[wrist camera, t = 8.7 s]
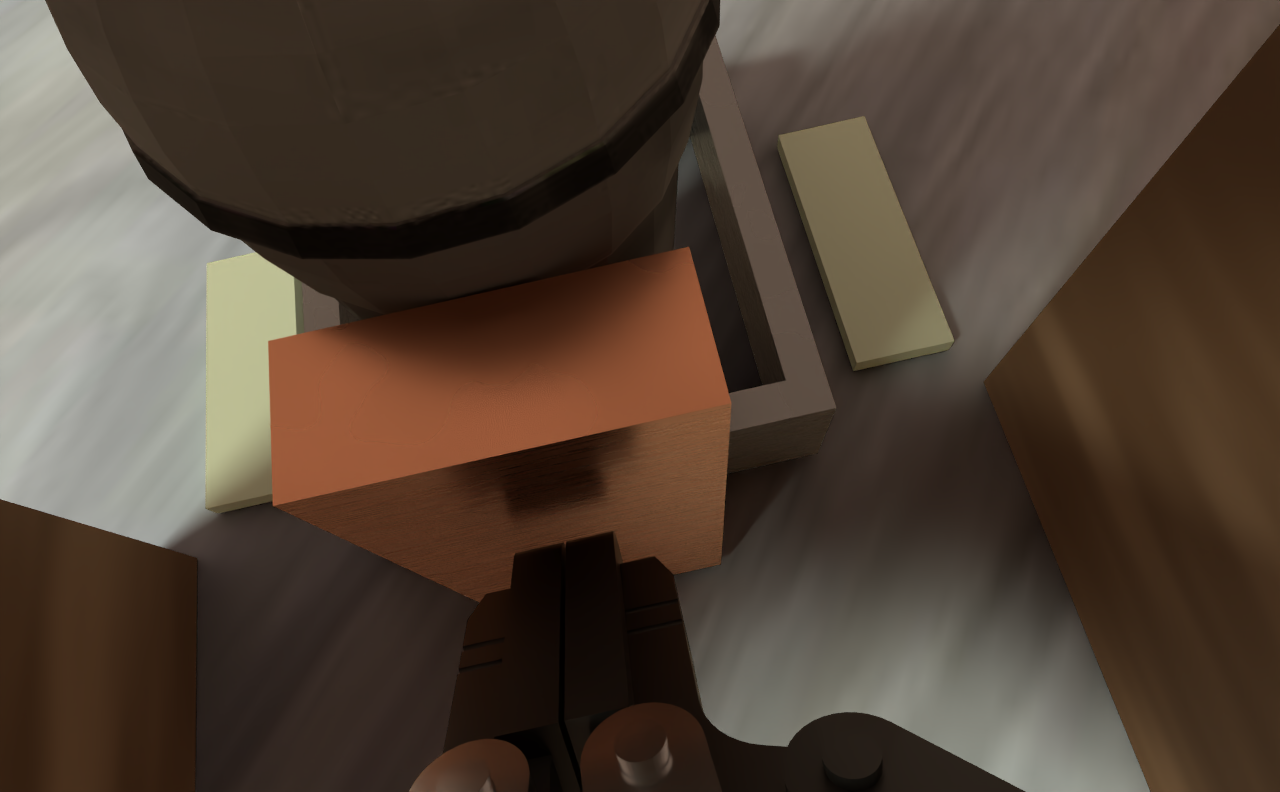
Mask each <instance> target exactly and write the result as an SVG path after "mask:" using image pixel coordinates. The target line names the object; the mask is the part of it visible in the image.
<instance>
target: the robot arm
mask: <svg viewBox="0 0 1280 792" xmlns="http://www.w3.org/2000/svg"><path fill="white" fill-rule="evenodd" d="M463 650H464V651H463V652H462V653H461V659H460V664H459V674H458V675H457V680H456V686H455V691H454V697H453V702H452V707H451V713H450V718H449V724H448V729H447V734H446V740H445V745H444V751H443V754H442V755H441V756H439V757H438V758H437V759H435V760H434V761H433V762H432V763H431V764H429V765H428V766H427V767H426V768H425V770H424V771H423V772H422V773H421V774H420V775H419V776H418V778H417V779H416V780H415V782H414V784H413V785H412V787H411V789H410V790H409V792H1025V791H1023V790H1021V789H1019V788H1017V787H1015V786H1013V785H1011V784H1010V783H1008V782H1006V781H1004V780H1002V779H1000V778H998V777H996V776H994V775H992V774H990V773H988V772H986V771H984V770H982V769H981V768H979V767H977V766H975V765H973V764H971V763H969V762H967V761H965V760H963V759H961V758H959V757H957V756H955V755H953V754H952V753H950V752H948V751H946V750H944V749H942V748H940V747H938V746H936V745H934V744H932V743H930V742H928V741H926V740H925V739H923V738H921V737H919V736H917V735H915V734H913V733H911V732H909V731H907V730H905V729H903V728H901V727H899V726H897V725H896V724H894V723H892V722H890V721H887V720H885V719H883V718H880V717H877V716H873V715H870V714H864V713H857V712H844V713H836V714H831V715H827V716H824V717H821V718H819V719H817V720H814V721H812V722H811V723H809V724H807V725H806V726H804V727H803V728H802V729H801V730H800V731H799V732H798V733H796V735H795V736H794V737H793V739H792V740H791V741H790V743H789V745H788V747H782V746H766V745H757V744H750V743H746V742H742V741H739V740H736V739H734V738H732V737H729V736H727V735H726V734H724V733H722V732H721V731H719V730H718V729H717V728H716V727H715V726H713V725H712V724H711V722H710V721H709V720H708V719H707V718H706V716H705V714H704V713H703V708H702V703H701V698H700V694H699V689H698V684H697V679H696V674H695V670H694V665H693V660H692V655H691V651H690V646H689V642H688V638H687V633H686V629H685V625H684V620H683V616H682V611H681V607H680V603H679V598H678V594H677V590H676V585H675V581H674V576H673V574H672V573H671V572H670V571H669V570H668V569H667V568H666V567H665V566H664V565H663V564H662V563H661V562H660V561H659V560H658V559H657V558H656V557H655V556H653V557H648V558H644V559H639V560H635V561H630V562H626V563H623V560H622V556H621V552H620V548H619V544H618V541H617V537H616V534H615V532H614V531H610V532H605V533H601V534H596V535H592V536H587V537H583V538H578V539H574V540H569V541H567V542H566V545H565V544H564V542H561V543H557V544H552V545H548V546H543V547H539V548H534V549H530V550H525V551H521V552H516V553H515V555H514V560H513V569H512V577H511V586H510V589H506V590H501V591H497V592H492V593H488V594H485V596H484V597H483V599H482V600H481V602H480V603H479V604H478V606H477V607H476V609H475V610H474V612H473V613H472V614H471V616H470V617H469V619H468V621H467V627H466V632H465V637H464V643H463Z"/></svg>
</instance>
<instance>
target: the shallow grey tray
mask: <svg viewBox="0 0 1280 792" xmlns="http://www.w3.org/2000/svg"><path fill="white" fill-rule="evenodd" d="M690 138H691V142H692V145H693V148H694V152H695V155H696V159H697V162H698V166H699V169H700V173H701V176H702V180H703V183H704V186H705V190H706V193H707V197H708V200H709V204H710V207H711V211H712V214H713V218H714V221H715V224H716V228H717V231H718V235H719V238H720V242H721V245H722V249H723V252H724V256H725V259H726V262H727V266H728V269H729V273H730V276H731V280H732V283H733V287H734V290H735V293H736V297H737V300H738V304H739V307H740V311H741V314H742V318H743V321H744V325H745V328H746V331H747V335H748V338H749V342H750V345H751V349H752V352H753V356H754V359H755V363H756V366H757V369H758V373H759V376H760V380H761V383H762V386H759V387H754V388H750V389H745V390H741V391H737V392H732V393H729V392H728V389H727V385H726V381H725V377H724V374H723V370H722V366H721V363H720V359H719V355H718V352H717V348H716V344H715V341H714V337H713V333H712V329H711V326H710V322H709V318H708V315H707V311H706V307H705V304H704V300H703V296H702V293H701V289H700V285H699V281H698V278H697V274H696V270H695V267H694V263H693V259H692V256H691V252H690V248H689V247H685V248H681V249H676V250H672V251H667V252H663V253H658V254H654V255H649V256H645V257H640V258H636V259H632V260H627V261H623V262H618V263H614V264H609V265H605V266H600V267H596V268H591V269H587V270H582V271H578V272H574V273H569V274H565V275H560V276H556V277H551V278H547V279H542V280H538V281H533V282H529V283H524V284H520V285H516V286H511V287H507V288H502V289H498V290H493V291H489V292H484V293H480V294H475V295H471V296H466V297H462V298H458V299H453V300H449V301H444V302H440V303H435V304H431V305H426V306H422V307H417V308H413V309H408V310H404V311H400V312H395V313H391V314H386V315H382V316H377V317H373V318H368V319H364V320H359V319H358V318H356V317H355V316H354V315H353V314H352V313H351V312H350V311H348V310H347V309H346V308H345V307H344V306H343V305H342V304H340V303H339V302H338V301H337V300H336V299H335V298H333V297H330V296H326V295H323V294H320V293H319V292H317V291H315V290H314V289H312V288H311V287H309V286H307V285H306V284H304V283H303V282H302V295H303V316H304V333H301V334H297V335H292V336H288V337H283V338H279V339H275V340H270V341H268V355H269V391H270V427H271V462H272V498H273V506H274V507H276V508H278V509H280V510H282V511H285V512H287V513H289V514H291V515H293V516H295V517H297V518H300V519H302V520H304V521H306V522H308V523H310V524H312V525H315V526H317V527H319V528H321V529H323V530H325V531H327V532H330V533H332V534H334V535H336V536H338V537H340V538H342V539H345V540H347V541H349V542H351V543H353V544H355V545H357V546H360V547H362V548H364V549H366V550H368V551H370V552H372V553H375V554H377V555H379V556H381V557H383V558H385V559H387V560H390V561H392V562H394V563H396V564H398V565H400V566H402V567H405V568H407V569H409V570H411V571H413V572H415V573H417V574H420V575H422V576H424V577H426V578H428V579H430V580H432V581H435V582H437V583H439V584H441V585H443V586H445V587H447V588H450V589H452V590H454V591H456V592H458V593H460V594H462V595H465V596H467V597H469V598H471V599H473V600H475V601H477V602H481V600H482V599H483V597H484V596H485V594H488V593H492V592H497V591H501V590H506V589H510V586H511V577H512V569H513V560H514V555H515V553H516V552H521V551H525V550H530V549H534V548H539V547H543V546H548V545H552V544H557V543H561V542H564V544H565V545H566V542H567V541H569V540H574V539H578V538H583V537H587V536H592V535H596V534H601V533H605V532H610V531H614V532H615V534H616V537H617V541H618V544H619V548H620V552H621V556H622V560H623V563H626V562H630V561H635V560H639V559H644V558H648V557H653V556H655V557H656V558H657V559H658V560H659V561H660V562H661V563H662V564H663V565H664V566H665V567H666V568H667V569H668V570H669V571H670V572H671V573H672V574H673V575H675V574H680V573H684V572H689V571H693V570H697V569H702V568H706V567H711V566H715V565H720V564H721V554H722V539H723V524H724V509H725V494H726V479H727V474H728V473H733V472H737V471H742V470H746V469H751V468H755V467H759V466H764V465H768V464H773V463H777V462H782V461H786V460H791V459H795V458H800V457H804V456H809V455H813V454H818V451H819V449H820V446H821V444H822V442H823V439H824V437H825V434H826V432H827V429H828V427H829V425H830V422H831V420H832V417H833V415H834V413H835V410H836V405H835V402H834V399H833V396H832V393H831V390H830V387H829V383H828V380H827V377H826V374H825V371H824V368H823V365H822V362H821V359H820V356H819V353H818V350H817V347H816V343H815V340H814V337H813V334H812V331H811V328H810V325H809V322H808V319H807V316H806V313H805V310H804V307H803V304H802V300H801V297H800V294H799V291H798V288H797V285H796V282H795V279H794V276H793V273H792V270H791V267H790V264H789V260H788V257H787V254H786V251H785V248H784V245H783V242H782V239H781V236H780V233H779V230H778V227H777V224H776V220H775V217H774V214H773V211H772V208H771V205H770V202H769V199H768V196H767V193H766V190H765V187H764V184H763V181H762V177H761V174H760V171H759V168H758V165H757V162H756V159H755V156H754V153H753V150H752V147H751V144H750V141H749V137H748V134H747V131H746V128H745V125H744V122H743V119H742V116H741V113H740V110H739V107H738V104H737V101H736V97H735V94H734V91H733V88H732V85H731V82H730V79H729V76H728V73H727V70H726V67H725V64H724V61H723V57H722V54H721V51H720V48H719V45H718V42H717V39H716V36H715V37H714V39H713V41H712V43H711V45H710V47H709V50H708V52H707V54H706V56H705V58H704V61H703V79H702V84H701V88H700V92H699V97H698V101H697V105H696V110H695V114H694V118H693V123H692V127H691V131H690Z"/></svg>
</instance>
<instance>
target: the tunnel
mask: <svg viewBox="0 0 1280 792" xmlns="http://www.w3.org/2000/svg"><path fill="white" fill-rule="evenodd" d="M984 384H985V387H986V389H987V392H988V394H989V397H990V399H991V401H992V404H993V406H994V409H995V411H996V414H997V416H998V419H999V421H1000V423H1001V426H1002V428H1003V431H1004V433H1005V436H1006V438H1007V441H1008V443H1009V446H1010V448H1011V450H1012V453H1013V455H1014V458H1015V460H1016V463H1017V465H1018V468H1019V470H1020V473H1021V475H1022V477H1023V480H1024V482H1025V485H1026V487H1027V490H1028V492H1029V495H1030V497H1031V499H1032V502H1033V504H1034V507H1035V509H1036V512H1037V514H1038V517H1039V519H1040V522H1041V524H1042V526H1043V529H1044V531H1045V534H1046V536H1047V539H1048V541H1049V544H1050V546H1051V549H1052V551H1053V553H1054V556H1055V558H1056V561H1057V563H1058V566H1059V568H1060V571H1061V573H1062V575H1063V578H1064V580H1065V583H1066V585H1067V588H1068V590H1069V593H1070V595H1071V598H1072V600H1073V602H1074V605H1075V607H1076V610H1077V612H1078V615H1079V617H1080V620H1081V622H1082V625H1083V627H1084V629H1085V632H1086V634H1087V637H1088V639H1089V642H1090V644H1091V647H1092V649H1093V651H1094V654H1095V656H1096V659H1097V661H1098V664H1099V666H1100V669H1101V671H1102V674H1103V676H1104V678H1105V681H1106V683H1107V686H1108V688H1109V691H1110V693H1111V696H1112V698H1113V701H1114V703H1115V705H1116V708H1117V710H1118V713H1119V715H1120V718H1121V720H1122V723H1123V725H1124V727H1125V730H1126V732H1127V735H1128V737H1129V740H1130V742H1131V745H1132V747H1133V750H1134V752H1135V754H1136V757H1137V759H1138V762H1139V764H1140V767H1141V769H1142V772H1143V774H1144V777H1145V779H1146V781H1147V784H1148V786H1149V789H1150V791H1151V792H1280V25H1279V26H1278V27H1277V28H1276V30H1275V31H1274V32H1273V33H1272V34H1271V36H1270V37H1269V38H1268V39H1267V40H1266V42H1265V43H1264V44H1263V45H1262V46H1261V48H1260V49H1259V50H1258V51H1257V53H1256V54H1255V55H1254V56H1253V57H1252V59H1251V60H1250V61H1249V62H1248V63H1247V65H1246V66H1245V67H1244V68H1243V69H1242V71H1241V72H1240V73H1239V74H1238V75H1237V77H1236V78H1235V79H1234V80H1233V81H1232V83H1231V84H1230V85H1229V86H1228V88H1227V89H1226V90H1225V91H1224V92H1223V94H1222V95H1221V96H1220V97H1219V98H1218V100H1217V101H1216V102H1215V103H1214V104H1213V106H1212V107H1211V108H1210V109H1209V110H1208V112H1207V113H1206V114H1205V115H1204V116H1203V118H1202V119H1201V120H1200V121H1199V123H1198V124H1197V125H1196V126H1195V127H1194V129H1193V130H1192V131H1191V132H1190V133H1189V135H1188V136H1187V137H1186V138H1185V139H1184V141H1183V142H1182V143H1181V144H1180V145H1179V147H1178V148H1177V149H1176V150H1175V151H1174V153H1173V154H1172V155H1171V156H1170V158H1169V159H1168V160H1167V161H1166V162H1165V164H1164V165H1163V166H1162V167H1161V168H1160V170H1159V171H1158V172H1157V173H1156V174H1155V176H1154V177H1153V178H1152V179H1151V180H1150V182H1149V183H1148V184H1147V185H1146V186H1145V188H1144V189H1143V190H1142V191H1141V193H1140V194H1139V195H1138V196H1137V197H1136V199H1135V200H1134V201H1133V202H1132V203H1131V205H1130V206H1129V207H1128V208H1127V209H1126V211H1125V212H1124V213H1123V214H1122V215H1121V217H1120V218H1119V219H1118V220H1117V221H1116V223H1115V224H1114V225H1113V226H1112V228H1111V229H1110V230H1109V231H1108V232H1107V234H1106V235H1105V236H1104V237H1103V238H1102V240H1101V241H1100V242H1099V243H1098V244H1097V246H1096V247H1095V248H1094V249H1093V250H1092V252H1091V253H1090V254H1089V255H1088V256H1087V258H1086V259H1085V260H1084V261H1083V263H1082V264H1081V265H1080V266H1079V267H1078V269H1077V270H1076V271H1075V272H1074V273H1073V275H1072V276H1071V277H1070V278H1069V279H1068V281H1067V282H1066V283H1065V284H1064V285H1063V287H1062V288H1061V289H1060V290H1059V291H1058V293H1057V294H1056V295H1055V296H1054V297H1053V299H1052V300H1051V301H1050V302H1049V304H1048V305H1047V306H1046V307H1045V308H1044V310H1043V311H1042V312H1041V313H1040V314H1039V316H1038V317H1037V318H1036V319H1035V320H1034V322H1033V323H1032V324H1031V325H1030V326H1029V328H1028V329H1027V330H1026V331H1025V332H1024V334H1023V335H1022V336H1021V337H1020V339H1019V340H1018V341H1017V342H1016V343H1015V345H1014V346H1013V347H1012V348H1011V349H1010V351H1009V352H1008V353H1007V354H1006V355H1005V357H1004V358H1003V359H1002V360H1001V361H1000V363H999V364H998V365H997V366H996V367H995V369H994V370H993V371H992V372H991V374H990V375H989V376H988V377H987V378H986V380H985V381H984ZM196 648H197V558H196V557H193V556H189V555H186V554H182V553H179V552H176V551H172V550H169V549H166V548H162V547H159V546H156V545H152V544H149V543H145V542H142V541H139V540H135V539H132V538H129V537H125V536H122V535H119V534H115V533H112V532H108V531H105V530H102V529H98V528H95V527H92V526H88V525H85V524H82V523H78V522H75V521H71V520H68V519H65V518H61V517H58V516H55V515H51V514H48V513H44V512H41V511H38V510H34V509H31V508H28V507H24V506H21V505H18V504H14V503H11V502H7V501H4V500H1V499H0V792H195V756H196Z"/></svg>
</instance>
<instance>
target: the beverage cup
mask: <svg viewBox="0 0 1280 792" xmlns="http://www.w3.org/2000/svg"><path fill="white" fill-rule="evenodd" d="M45 1H46V3H47V5H48V7H49V10H50V12H51V14H52V16H53V18H54V21H55V23H56V25H57V27H58V29H59V32H60V34H61V36H62V38H63V40H64V43H65V45H66V47H67V49H68V51H69V53H70V54H71V56H72V57H73V59H74V61H75V62H76V64H77V66H78V67H79V69H80V70H81V72H82V74H83V75H84V77H85V79H86V80H87V82H88V84H89V85H90V87H91V88H92V90H93V92H94V93H95V95H96V97H97V98H98V100H99V102H100V103H101V104H102V105H103V107H104V108H105V109H106V110H107V111H108V113H109V114H110V115H111V116H112V117H113V118H114V120H115V121H116V122H117V123H118V124H119V125H120V127H121V128H122V130H123V132H124V134H125V136H126V138H127V140H128V143H129V145H130V147H131V149H132V151H133V153H134V155H135V156H136V158H137V160H138V162H139V163H140V165H141V167H142V169H143V170H144V172H145V174H146V176H147V177H148V179H149V180H150V181H151V182H153V183H154V184H155V185H156V186H158V187H159V188H160V189H161V190H162V191H164V192H165V193H166V194H167V195H169V196H170V197H171V198H172V199H174V200H175V201H176V202H177V203H178V204H180V205H181V206H182V207H183V208H185V209H186V210H187V211H188V212H189V213H191V214H192V215H193V216H194V217H196V218H197V219H198V220H199V221H200V222H202V223H203V224H204V225H205V226H207V227H208V228H209V229H210V230H212V231H215V232H218V233H221V234H224V235H227V236H231V237H234V238H237V239H240V240H242V241H243V242H244V243H245V244H247V245H248V246H249V247H250V248H252V249H253V250H254V251H255V252H257V253H258V254H259V255H260V256H261V257H263V258H264V259H266V260H267V261H269V262H270V263H272V264H274V265H275V266H277V267H278V268H280V269H282V270H283V271H285V272H286V273H288V274H290V275H291V276H293V277H295V278H296V279H298V280H299V281H301V282H303V283H304V284H306V285H307V286H309V287H311V288H312V289H314V290H315V291H317V292H319V293H320V294H323V295H326V296H330V297H333V298H335V299H336V300H337V301H338V302H339V303H340V304H342V305H343V306H344V307H345V308H346V309H347V310H348V311H350V312H351V313H352V314H353V315H354V316H355V317H356V318H358V319H359V320H364V319H368V318H373V317H377V316H382V315H386V314H391V313H395V312H400V311H404V310H408V309H413V308H417V307H422V306H426V305H431V304H435V303H440V302H444V301H449V300H453V299H458V298H462V297H466V296H471V295H475V294H480V293H484V292H489V291H493V290H498V289H502V288H507V287H511V286H516V285H520V284H524V283H529V282H533V281H538V280H542V279H547V278H551V277H556V276H560V275H565V274H569V273H574V272H578V271H582V270H587V269H591V268H596V267H600V266H605V265H609V264H614V263H618V262H623V261H627V260H632V259H636V258H640V257H645V256H649V255H654V254H658V253H663V252H667V251H672V250H673V249H674V232H675V214H676V197H677V180H678V163H679V161H680V158H681V156H682V154H683V152H684V149H685V147H686V145H687V143H688V140H689V136H690V131H691V127H692V123H693V118H694V114H695V110H696V105H697V101H698V97H699V92H700V88H701V84H702V79H703V61H704V58H705V56H706V54H707V52H708V50H709V47H710V45H711V43H712V41H713V39H714V37H715V34H716V32H717V30H718V28H719V24H720V0H45Z"/></svg>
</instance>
